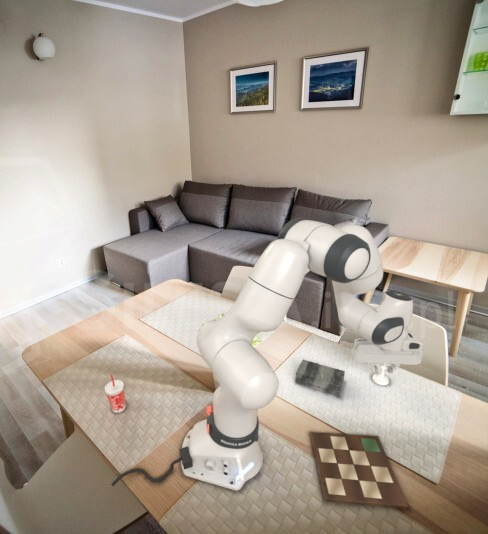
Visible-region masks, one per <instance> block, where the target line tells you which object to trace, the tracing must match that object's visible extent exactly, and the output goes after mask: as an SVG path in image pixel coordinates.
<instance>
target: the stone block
mask: <svg viewBox="0 0 488 534" xmlns="http://www.w3.org/2000/svg"><path fill="white" fill-rule="evenodd" d="M345 373H346V371H345V370H342V369H339V368H335V367H332V366H327V365H324V364H320V363H318V362H315V361H311V360H308V359H307V360H306V359H302V360H301V362H300V364H299V365H298V368H297V370H296V372H295V383H296V384H298V385H302V386H304V387H308V388H311V389H315V390H318V391H320V392H323V393H325V394H329V395H332V396H333V395H334V396H335V397H337V398H341V396H342V391H343V385H344V383H345V382H344V381H345Z"/></svg>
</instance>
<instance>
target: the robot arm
mask: <svg viewBox="0 0 488 534" xmlns="http://www.w3.org/2000/svg"><path fill="white" fill-rule="evenodd" d="M309 272H312V273H314V274H316V275H320V276H322V277H324V278H327V279H328V280H329V285H330V291H331V296H332V304H333V308H332V316H333V320H334V322H335V323H336V324H338V325H340V326H342V327H344V328H346V329H348V330H349V331H351V332H353V333H355V334H356V335H358V336H359V337H358V338H355V339H354V340H353V343H352V348H351V352H350V356H351V358H352V360H353V362H354V363H356V364H369V365H370V371H371V373H373V374H375V373H378V371H379V368H378V367H377V364H378V365H381V364H386V365H387V369H386V371H387V372H388V374H395V370H397V369H399V367H401V365H411V366H413V365H414V366H417V365H418V366H419V364H421V363H422V361H423V356H424V350H423V348H424V343H423V341H422V340H421V339H420V337H419V336H418V335H417V334H416V333H415V332H414V331H411V330H408V328H409V326H410V325H411V322H412V318H413V313H414V300H413V298H412V297H411V296H410V295H408V294H406V293H403V292H400V291H397V290H386V291H384V293H383V294H382V297H381V300H380V303H379V304H378V306H377V307H375V306H373V305H371V304H369V303H366V302H364V301H363V300H360V299H359V298H358V297H356V296H355V295H357V296H358V295H363V294H368V293H369V292H371V291H373V290H375V289H376V288H378V286H379V285H380V284H381V282H382V281H383V278H384V265H383V261H382V257H381V253H380V251H379V248H378V245H377V243H376V241H375V238H374V237H373V236H372V234H371V231H369V230H368V228H366V227H364V226H362V225H359V224H347V225H344V226H340V227H339V228H338V227H334V226H333V225H331V224H328V223H325V222H321V221H318V220H317V221H316V220H312V219H310V218H307V217H295V218H292V219H291V220H288V221H287V222H286V223H285V224H284V226H282V228H281V230H279V233H278V236H277V237H276V239H275V240H273V241H271V242H269V244H268V246H266V248H265V249H264V251H263V252H262V253H261V254H260V256H259V257H258V259H257V261H256V262H255V264H254V266H253V268H252V269H251V271H250V273H249V274H248V276H247V279H246V281H245V282H244V284H243V286H242V289H241V291H240V292H239V294H238V295H237V298H236V299H235V301H234V303H233V305H232V306H231V307H230V308H229V310H228V311H227V312H226V313H225V314H223V315H222V316H221V317H220V318H217V319H212V320H210V321H208V322H206V323H204V324H203V325H202V326H201V327H200V328H199V330H198V332H197V334H196V345H197V348H198V351H199V353H200V355H201V357H202V359H203V361H204V362H205V363H206V365H207V366H208V367H209V369H210V370H211V371H212V374H213V375H214V376H215V378H216V379H217V382H218V384H219V386H218V387H217V388H216V389H215V390H214V392H213V395H212V405H210V404H209V405H207V406H206V407H205V408H206V411H205V414H206V415H207V417H206V419H202V420H200V421H198V422H196V423H195V424H194V425H193V427H192V428H191V429H189V431H188V432H187V433H186V435H185V437H184V438H183V443H182V445H181V448H179V456H180V457H179V458H176V459H174V460H173V461H172V462H171V463H170V465H169V466H170V468H169V469H167V471H166V473H165V474H163V475H162V476H160V477H158V478H157V477H156V478H154V477H152V476H150V474H149V473H148V472H147V471H146V470H144V469H143V468H132V469H129V470H126V471H125V472H123V473H122V474H120V475H119V476H118V477H117V478H115V480H113V481H112V483H111V485H110V486H111V487H114V486H115V485H117V483H119V481H120V480H121V479H123V478H125V477H126V476H127V475H130V474H133V473H141V474H143V475H144V477H146V479H147V480H148V481H149V482H152V483H159V482H162V481H163V480H165V479H166V478H167V477H168V476H169V475H170V474H171V473H172V471H173V470H174V467H175V465H176V464H178V463H179V462H180V467H181V471H182V473H183V475H184V476H186V477H188V478H192V479H195V480H198V481H202V482H205V483H209V484H212V485H215V486H219V487H222V488H225V489H228V490H232V491H236V492H237V491H240V490H241V489H242V488H243V486H244V485H245V483H247V482H248V481H249V480H250V479H252V478H254V477H255V476H256V475H257V474H258V473H259V472H260V470H261V468H262V466H263V463H264V454H263V450H262V448H261V446H260V442H259V437H260V421H259V420H260V419H259V416H258V410H260V409H263V408H265V407H267V406H268V405H270V404H271V402H273V400H274V399H275V398H276V396H277V393H278V390H279V385H280V381H279V377H278V375H277V374H276V372H275V371H274V368H273V367H272V366H271V364H270V362H269V361H268V359H266V358H265V356H263V355H262V353H260V352H259V351H258V350H257V349H256V348H255V347H254V346H253V345H252V343H253V340H254V339H255V338H256V337H257V335H258V334H259V333H270V332H273V331H276V330H277V329H279V328H280V326H281V325H282V324H283V323H282V322H283V321H284V319H285V317H286V316H287V314H288V312H289V310H290V308H291V306H292V305H293V303H294V301H295V298H296V297H297V294H298V292H299V291H300V288H301V287H302V284H303V281H304V279H305V276H306V275H307V274H308V273H309Z"/></svg>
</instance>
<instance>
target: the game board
mask: <svg viewBox="0 0 488 534" xmlns="http://www.w3.org/2000/svg"><path fill="white" fill-rule="evenodd" d="M309 436H310V440H311V444H312V448H313V454H314V457H315V464H316V468H317V473H318V477H319V481H320V485H321V491H322V495H323V501H324V502H326V503H338V504H348V505H349V504H350V505H359V506H371V507H380V508H391V509H403V510H405V509H406V510H407V509H408V503H407V501H406V499H405V497H404V493H403V492H402V489H401V486H400V485H399V482H398V480H397V478H396V475H395V473H394V470H393V468H392V466H391V463H390V461H389V458H388V456H387V454H386V452H385V449H384V447H383V444H382V442H381V440H380V437H379V436H378V435H367V434H364V435H363V434H349V433H335V432H334V433H333V432H317V431H310V434H309Z"/></svg>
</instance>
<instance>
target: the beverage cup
mask: <svg viewBox="0 0 488 534" xmlns="http://www.w3.org/2000/svg"><path fill="white" fill-rule="evenodd" d="M110 379H111V381H109V382H107V384H105V386H104V392H105V394H106V396H107V399H108V402H109V405H110V407H111V410H112V412H113V413H115V414H116V413H118V414H119V413H122V412H123V411H124V410H125V409H126V407H127V403H126V397H125V390H124V389H125V384H124V382H123V381H122V380H121V379H114V376H113V374H110Z"/></svg>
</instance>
